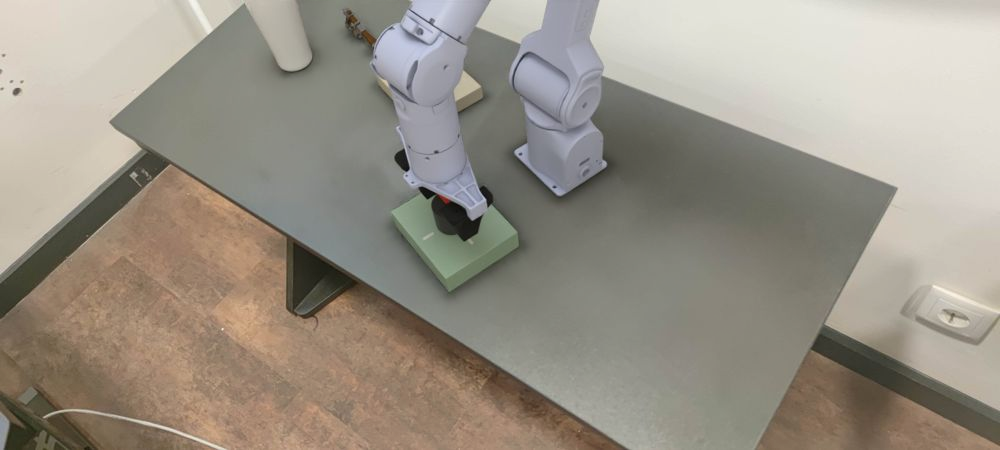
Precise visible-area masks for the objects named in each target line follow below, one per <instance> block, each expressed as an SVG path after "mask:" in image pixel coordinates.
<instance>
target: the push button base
mask: <svg viewBox="0 0 1000 450" xmlns="http://www.w3.org/2000/svg"><path fill="white" fill-rule="evenodd" d="M375 76H376V77H375V78H376V80H377V83H378V86H379V87H380V88H381V90H383V91H384V92H385V93H386V94H387V96H388V97H389V98H390V99H391V100H392V101H393V98H392V95H391V91H390V89H389V85H388V82H387V81H386V80H384V79H382V78H380V77H379V76H377V75H376V74H375ZM454 96H455V101H456V107H457V112H458V113H459V112H461V111H463V110H465V109H467V108H468V107H470V106H472V105H474V104H475V103H477V102H479V101H481V100H482V99H483V98H484V95H483V88H482V85H480V84H479V83H478V82H477V81H476V80H475V79H474V78H473V77H472V76H471V75H469V73H467V72H466V71H465V70H464V69H463V73H462V77H461V80H460V82H459V84H458V85H457V86H456V87H455V89H454Z"/></svg>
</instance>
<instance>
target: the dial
mask: <svg viewBox="0 0 1000 450" xmlns="http://www.w3.org/2000/svg"><path fill="white" fill-rule="evenodd" d="M450 202H452V201H451V200H449V199H447V198H445V197H443V196H441V195H439V194H437V195H436V196H435V197H434V198H433V200H432V202H431V208H432V212H433V216H434V219H435V223H436V226H437V228H438V230H439V231H440V232H442V233H443V234H446V235H456V234H457V233H456V230H455V228H454V226H452V225H451V224H450V223H449V222H448V221H447V220H446V219H445V218H444V217H443V216H442V214H441V213H440V212H439V209H440V208H442V207H444V206H445V205H447V204H449V203H450Z"/></svg>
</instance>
